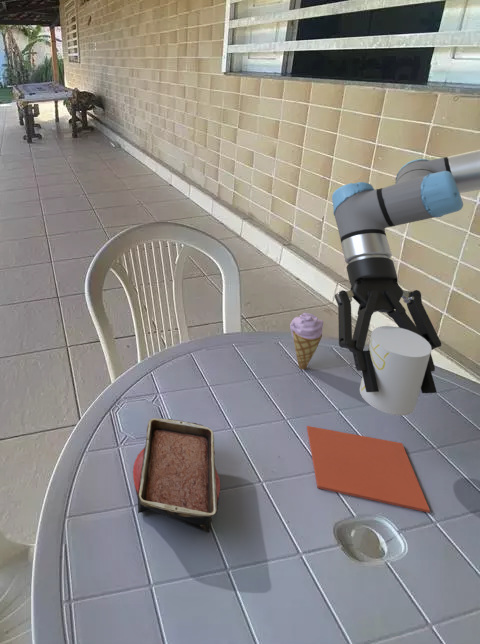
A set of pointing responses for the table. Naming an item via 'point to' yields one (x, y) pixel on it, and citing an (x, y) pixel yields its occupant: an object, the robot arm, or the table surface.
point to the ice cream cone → (306, 337)
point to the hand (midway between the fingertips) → (400, 392)
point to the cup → (396, 369)
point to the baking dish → (178, 472)
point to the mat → (365, 468)
